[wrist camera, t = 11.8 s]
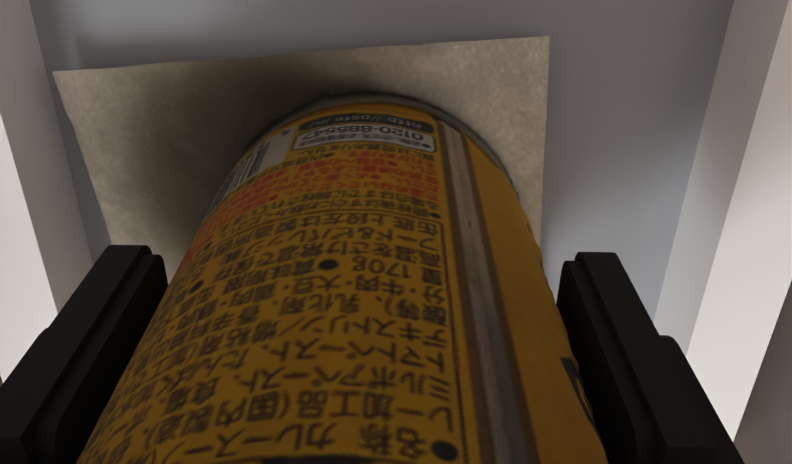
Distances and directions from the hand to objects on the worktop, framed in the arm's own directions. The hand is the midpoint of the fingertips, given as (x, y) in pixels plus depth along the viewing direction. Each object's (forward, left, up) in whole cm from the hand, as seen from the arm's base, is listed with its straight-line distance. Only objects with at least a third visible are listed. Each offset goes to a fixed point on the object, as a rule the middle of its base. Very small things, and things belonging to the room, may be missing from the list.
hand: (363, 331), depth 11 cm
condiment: (0, +1, -3) cm, 3 cm away
